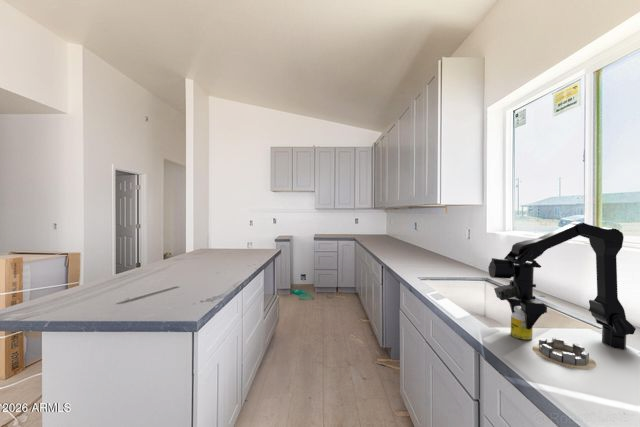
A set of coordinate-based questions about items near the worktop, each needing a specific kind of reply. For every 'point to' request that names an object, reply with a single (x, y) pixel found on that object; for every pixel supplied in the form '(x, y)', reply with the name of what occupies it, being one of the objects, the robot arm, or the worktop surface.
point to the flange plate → (588, 366)
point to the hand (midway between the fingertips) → (521, 323)
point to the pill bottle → (520, 325)
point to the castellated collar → (566, 357)
